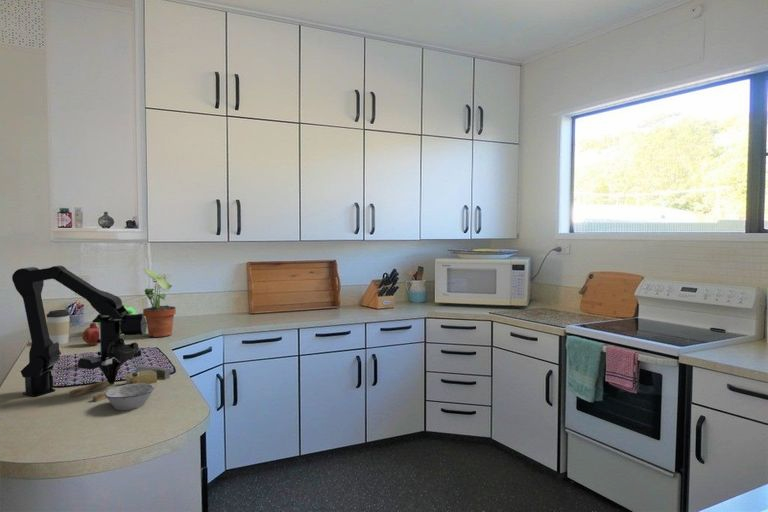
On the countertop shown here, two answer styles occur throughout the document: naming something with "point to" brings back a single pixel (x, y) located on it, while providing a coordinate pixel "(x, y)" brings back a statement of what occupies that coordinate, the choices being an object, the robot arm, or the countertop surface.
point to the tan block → (142, 377)
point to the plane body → (94, 387)
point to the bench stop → (161, 372)
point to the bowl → (129, 395)
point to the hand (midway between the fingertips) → (111, 383)
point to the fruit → (91, 334)
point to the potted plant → (158, 309)
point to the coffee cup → (58, 326)
